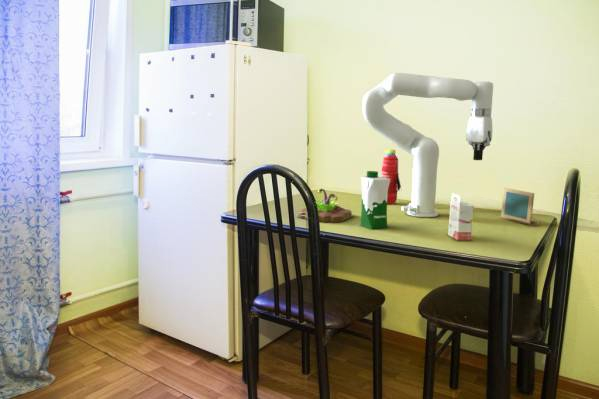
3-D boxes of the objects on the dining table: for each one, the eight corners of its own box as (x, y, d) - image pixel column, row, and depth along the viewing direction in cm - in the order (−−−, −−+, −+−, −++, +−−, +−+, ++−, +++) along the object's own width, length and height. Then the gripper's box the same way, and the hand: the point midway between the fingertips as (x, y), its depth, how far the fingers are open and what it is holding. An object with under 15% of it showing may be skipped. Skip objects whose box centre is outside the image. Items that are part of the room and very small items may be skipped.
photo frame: (532, 193, 186) (542, 192, 188) (503, 188, 199) (513, 187, 201) (529, 223, 188) (539, 222, 190) (500, 216, 201) (510, 215, 203)
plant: (315, 210, 214) (316, 184, 212) (357, 215, 204) (358, 188, 202) (291, 218, 197) (291, 189, 195) (335, 224, 187) (336, 194, 185)
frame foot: (532, 226, 188) (533, 221, 188) (502, 218, 202) (502, 214, 201) (537, 225, 189) (537, 221, 189) (506, 218, 203) (506, 213, 202)
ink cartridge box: (471, 240, 165) (475, 196, 162) (457, 241, 164) (460, 196, 162) (461, 234, 173) (464, 192, 171) (447, 234, 173) (450, 192, 170)
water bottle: (406, 205, 229) (409, 150, 225) (394, 206, 224) (396, 150, 220) (387, 201, 239) (389, 148, 234) (375, 202, 234) (377, 149, 230)
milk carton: (376, 223, 190) (378, 170, 187) (391, 227, 182) (393, 173, 179) (356, 225, 186) (358, 171, 183) (371, 230, 178) (373, 174, 175)
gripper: (460, 113, 204) (457, 158, 207) (487, 113, 190) (484, 162, 193) (474, 113, 207) (471, 158, 210) (502, 113, 193) (498, 161, 196)
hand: (477, 159), depth 202 cm, fingers closed
